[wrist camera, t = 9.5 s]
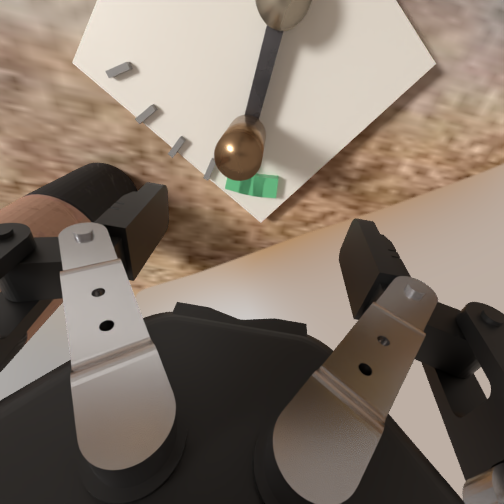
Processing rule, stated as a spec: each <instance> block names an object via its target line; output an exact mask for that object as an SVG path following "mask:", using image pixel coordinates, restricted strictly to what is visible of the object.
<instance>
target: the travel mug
mask: <svg viewBox="0 0 504 504" xmlns="http://www.w3.org/2000/svg"><path fill="white" fill-rule="evenodd" d="M133 191H134V192H137V189H136V187H135V185H134V183H133V182H132V181H131V180H130V178H129V177H128V176H127V175H126V174H124V173H123V172H122V171H120V170H119V169H117V168H115V167H113V166H111V165H108V164H104V163H91V164H88V165H85V166H83V167H81V168H79V169H76V170H74V171H72V172H71V173H69V174H67V175H65V176H63V177H61V178H59V179H57V180H55V181H53V182H51V183H49V184H47V185H45V186H43V187H41V188H39V189H37V190H35V191H33V192H31V193H29V194H27V195H25V196H23V197H21V198H20V199H18V200H16V201H14V202H13V203H11V204H9V205H7V206H6V207H4V208H2V209H0V224H2V223H21V224H24V225H27V226H28V227H29V228H30V230H31V232H32V235H33V237H58V236H59V234H60V232H61V231H62V230H63V229H65V228H67V227H69V226H71V225H74V224H78V223H86V222H91V223H93V222H94V221H96V220H97V219H98V218H99V217H100V216H101V215H102V214H103V213H104V212H105V211H107V210H108V209H109V208H111V206H112V205H113V204H114V203H116V201H118V200H119V199H120V198H121V197H122V196H124V195H126V194H128V193H131V192H133ZM0 292H1V289H0ZM62 303H63V299H53V301H52V302H51V303H50V304H49V305H48V307H47V308H46V309H45V310H44V311H43V313H42V314H41V315H40V316H39V317H38V319H37V320H36V321H35V322H34V324H33V325H32V326H31V327H30V328H29V330H28V331H27V332H26V333H25V334H24V336H23V337H22V338H21V339H20V340H19V342H18V343H17V344H16V345H15V347H14V348H13V349H12V350H11V351H10V353H9V354H8V355H7V356H6V357H5V359H4V360H3V361H2V362H1V363H0V372H1V371H2V370H3V368H5V367H6V365H7V364H8V363H9V362H10V361H11V360H12V359H13V358H14V356H15V355H16V354H17V353H18V352H19V351H20V349H22V347H23V346H24V345H25V344H26V343H27V342H28V340H30V338H31V337H32V336H33V335H34V334H35V333H36V332H37V331H38V329H39V328H40V327H41V326H42V325H43V324H44V323H45V322H46V320H47V319H48V318H49V317H50V316H51V315H52V314H53V313H54V311H55V310H56V309H57V308H58V307H59V306H60V305H61V304H62Z"/></svg>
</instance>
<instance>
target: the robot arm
mask: <svg viewBox="0 0 504 504" xmlns="http://www.w3.org/2000/svg"><path fill="white" fill-rule="evenodd" d="M168 223H169V210H168V191H167V187H166V185H161V184H155V183H150V182H147V183H146V184H145V185H143V186H142V187H141V188H140V189H139V190H138V191H137V192H134V191H133V192H131V193H128V194H126V195H124V196H122V197H121V198H120V199H119V200H118V201H116V203H114V204H113V205H112V206H111V208H109V209H108V210H107V211H105V212H104V213H103V214H102V215H101V216H100V217H99V218H98V219H97V220H96V221H94V222H93V223H91V222H86V223H78V224H74V225H71V226H69V227H67V228H65V229H63V230H62V231H61V232H60V234H59V236H58V237H33V235H32V232H31V230H30V228H29V227H28V226H27V225H24V224H21V223H2V224H0V289H1V292H0V363H1V362H2V361H3V360H4V359H5V357H6V356H7V355H8V354H9V353H10V351H11V350H12V349H13V348H14V347H15V345H16V344H17V343H18V342H19V340H20V339H21V338H22V337H23V336H24V334H25V333H26V332H27V331H28V330H29V328H30V327H31V326H32V325H33V324H34V322H35V321H36V320H37V319H38V317H39V316H40V315H41V314H42V313H43V311H44V310H45V309H46V308H47V307H48V305H49V304H50V303H51V302H52V301H53V299H63V304H64V312H65V319H66V327H67V335H68V343H69V350H70V358H71V360H69V361H68V362H66V363H64V364H62V365H61V366H59V367H57V368H56V369H54V370H52V371H50V372H49V373H47V374H45V375H44V376H42V377H40V378H38V379H37V380H35V381H33V382H32V383H30V384H28V385H26V386H25V387H23V388H21V389H20V390H18V391H16V392H14V393H13V394H11V395H9V396H8V397H6V398H4V399H2V400H1V401H0V504H504V314H503V313H501V312H500V311H498V310H496V309H495V308H493V307H490V306H488V305H486V304H483V303H478V302H470V303H468V304H467V305H466V306H465V307H464V308H463V309H462V310H461V311H460V310H458V309H455V308H452V307H449V306H447V305H444V304H442V303H439V302H438V298H437V295H436V293H435V292H434V291H433V290H432V289H431V288H430V287H429V286H428V285H426V284H425V283H423V282H422V281H420V280H418V279H415V278H412V277H411V276H410V275H409V273H408V271H407V269H406V267H405V265H404V264H403V262H402V260H401V259H400V256H399V255H398V253H397V252H396V249H395V247H394V245H393V244H392V242H391V241H390V240H388V239H387V238H386V237H385V236H384V235H381V234H380V233H379V231H378V229H377V227H376V225H375V223H374V222H373V221H367V220H362V219H354V220H353V221H352V223H351V225H350V227H349V230H348V232H347V235H346V237H345V239H344V242H343V244H342V247H341V249H340V254H339V263H340V267H341V271H342V274H343V279H344V282H345V286H346V290H347V294H348V298H349V302H350V306H351V310H352V314H353V318H354V319H357V320H358V322H357V323H356V324H355V325H354V326H353V328H352V329H351V330H350V331H349V333H348V334H347V335H346V336H345V338H344V339H343V340H342V341H341V342H340V344H339V345H338V346H337V348H336V349H335V350H334V351H333V350H332V349H330V348H329V347H328V346H327V345H325V344H324V343H322V342H321V341H319V340H317V339H316V338H314V337H312V336H310V335H307V328H306V324H304V323H298V322H292V321H286V320H280V319H253V320H240V319H237V318H234V317H232V316H229V315H227V314H224V313H222V312H219V311H216V310H214V309H212V308H209V307H203V306H198V305H191V304H186V303H180V302H177V304H176V306H175V308H174V311H173V312H165V313H159V314H155V315H151V316H148V317H145V318H143V317H142V315H141V312H140V309H139V307H138V304H137V301H136V299H135V296H134V293H133V291H132V288H131V285H130V283H129V280H132V281H134V280H135V278H136V277H137V275H138V274H139V272H140V271H141V269H142V268H143V266H144V265H145V263H146V261H147V260H148V258H149V257H150V255H151V254H152V252H153V251H154V249H155V248H156V246H157V245H158V243H159V241H160V240H161V238H162V237H163V235H164V234H165V232H166V230H167V227H168ZM414 359H416V360H418V361H421V362H422V365H423V367H424V370H425V373H426V375H427V378H428V381H429V384H430V386H431V389H432V392H433V394H434V397H435V400H436V402H437V405H438V408H439V411H440V413H441V416H442V419H443V421H444V424H445V426H446V429H447V432H448V435H449V437H450V440H451V443H452V445H453V448H454V451H455V453H456V456H457V459H458V462H459V464H460V467H461V470H462V472H463V475H464V478H465V480H466V482H465V484H464V487H463V500H462V499H461V498H460V497H459V495H458V494H457V493H456V492H455V491H454V490H453V488H452V487H451V486H450V485H449V484H448V483H447V481H446V480H445V479H444V478H443V477H442V476H441V474H439V472H438V471H437V470H436V469H435V467H434V466H433V465H432V464H431V463H430V462H429V460H428V459H427V458H426V457H425V456H424V455H423V453H422V452H421V451H420V450H419V449H418V448H417V447H416V445H415V444H414V443H413V442H412V441H411V440H410V438H409V437H408V436H407V435H406V434H405V433H404V431H403V430H402V429H401V428H400V427H399V426H398V424H397V423H396V422H395V421H394V420H393V419H392V417H391V416H390V415H389V414H388V413H389V411H390V409H391V407H392V405H393V402H394V400H395V398H396V396H397V394H398V392H399V390H400V388H401V386H402V384H403V382H404V380H405V378H406V375H407V373H408V371H409V369H410V367H411V365H412V363H413V361H414ZM480 367H482V369H483V371H484V372H485V374H486V376H487V378H488V380H489V382H490V385H491V394H490V397H489V398H488V399H487V398H486V396H485V394H484V392H483V390H482V389H481V387H480V385H479V383H478V381H477V379H476V377H475V375H474V372H475V371H476V370H478V369H479V368H480Z"/></svg>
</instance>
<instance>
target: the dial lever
mask: <svg viewBox="0 0 504 504" xmlns="http://www.w3.org/2000/svg"><path fill="white" fill-rule="evenodd" d="M255 1H256V6H257V9H258V12H259V14H260V16H261V18H262V20H263V21H264V23H265V24H266V25H267V26H266V30H265V35H264V39H263V43H262V47H261V51H260V55H259V59H258V63H257V67H256V71H255V75H254V79H253V83H252V87H251V91H250V95H249V99H248V103H247V107H246V111H245V115H241V116H239V117H237V118H235V119H234V120H233V121H232V123H231V124H230V125H229V127H228V128H227V130H226V131H225V133H224V134H223V135H222V137H221V138H220V140H219V141H218V143H217V144H216V147H215V150H214V160H215V163H216V166H217V168H218V169H219V171H220V172H221V173H222V174H223V175H224V176H225V177H227V178H229V179H231V180H235V181H244V180H247V179H250V178H251V177H253V176H254V175H255V174H256V173H257V172H258V171H259V169H260V167H261V163H262V158H263V152H264V146H265V140H266V131H265V128H264V126H263V124H262V122H261V121H260V120H259V118H260V114H261V110H262V107H263V103H264V100H265V96H266V92H267V89H268V85H269V82H270V78H271V75H272V71H273V67H274V64H275V60H276V57H277V53H278V49H279V46H280V42H281V39H282V35H283V32H286V31H289V30H292V29H293V28H295V27H296V26H297V25H298V24H299V23H300V22H301V21H302V20H303V18H304V17H305V15H306V14H307V12H308V10H309V8H310V5H311V2H312V0H255Z"/></svg>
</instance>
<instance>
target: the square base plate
mask: <svg viewBox="0 0 504 504" xmlns="http://www.w3.org/2000/svg"><path fill="white" fill-rule="evenodd" d="M266 26H267V25H266V24H265V23H264V21H263V20H262V18H261V16H260V14H259V12H258V9H257V6H256V1H255V0H97V2H96V5H95V7H94V10H93V12H92V15H91V17H90V20H89V22H88V25H87V27H86V30H85V32H84V35H83V37H82V40H81V42H80V45H79V47H78V50H77V52H76V55H75V57H74V60H73V62H72V63H73V64H74V65H75V66H77V67H78V68H79V69H80V70H81V71H83V72H84V73H85V74H86V75H87V76H88V77H90V78H91V79H92V80H93V81H94V82H95V83H97V84H98V85H99V86H100V87H101V88H103V89H104V90H105V91H106V92H107V93H108V94H110V95H111V96H112V97H113V98H114V99H116V100H117V101H118V102H119V103H120V104H121V105H123V106H124V107H125V108H126V109H127V110H129V111H130V112H131V113H132V114H133V115H134V116H136V117H137V118H135V120H136V121H137V122H138V123H139V124H141V123H142V122H143V123H144V124H145V125H146V126H147V127H149V128H150V129H151V130H152V131H153V132H154V133H156V134H157V135H158V136H159V137H160V138H162V139H163V140H164V141H165V142H166V143H167V144H169V145H170V146H171V147H172V149H171V150H170V152H169V153H168V154H169V155H170V156H171V157H172V158H173V157H174V156H175V154H176V153H177V152H178V153H179V154H180V155H182V156H183V157H184V158H185V159H186V160H188V161H189V162H190V163H191V164H192V165H193V166H195V167H196V168H197V169H198V170H199V171H201V172H202V173H203V174H204V179H206V180H209V179H210V180H211V181H212V182H213V183H215V184H216V185H217V186H218V187H219V188H221V189H222V190H223V191H224V192H225V193H226V194H228V195H229V196H230V197H231V198H232V199H234V200H235V201H236V202H237V203H238V204H239V205H241V206H242V207H243V208H244V209H245V210H247V211H248V212H249V213H250V214H251V215H252V216H254V217H255V218H256V219H257V220H258V221H260V222H262V221H263V220H264V219H265V218H267V217H268V216H269V215H270V214H271V213H272V212H273V211H274V210H275V209H276V208H278V207H279V206H280V205H281V204H282V203H283V202H284V201H285V200H286V199H288V198H289V197H290V196H291V195H292V194H293V193H294V192H295V191H296V190H297V189H299V188H300V187H301V186H302V185H303V184H304V183H305V182H306V181H307V180H308V179H310V178H311V177H312V176H313V175H314V174H315V173H316V172H317V171H318V170H319V169H321V168H322V167H323V166H324V165H325V164H326V163H327V162H328V161H329V160H331V159H332V158H333V157H334V156H335V155H336V154H337V153H338V152H339V151H340V150H342V149H343V148H344V147H345V146H346V145H347V144H348V143H349V142H350V141H351V140H353V139H354V138H355V137H356V136H357V135H358V134H359V133H360V132H361V131H362V130H364V129H365V128H366V127H367V126H368V125H369V124H370V123H371V122H372V121H374V120H375V119H376V118H377V117H378V116H379V115H380V114H381V113H382V112H383V111H385V110H386V109H387V108H388V107H389V106H390V105H391V104H392V103H393V102H394V101H396V100H397V99H398V98H399V97H400V96H401V95H402V94H403V93H404V92H405V91H407V90H408V89H409V88H410V87H411V86H412V85H413V84H414V83H415V82H417V81H418V80H419V79H420V78H421V77H422V76H423V75H424V74H425V73H426V72H428V71H429V70H430V69H431V68H432V67H433V66H434V65H435V64H436V63H435V61H434V60H433V58H432V57H431V55H430V53H429V52H428V50H427V49H426V47H425V45H424V44H423V42H422V41H421V39H420V37H419V36H418V34H417V33H416V31H415V30H414V28H413V26H412V25H411V23H410V22H409V20H408V18H407V17H406V15H405V14H404V12H403V10H402V9H401V7H400V6H399V4H398V3H397V1H396V0H312V2H311V5H310V8H309V10H308V12H307V14H306V15H305V17H304V18H303V20H302V21H301V22H300V23H299V24H298V25H297V26H296V27H295V28H293V29H292V30H289V31H286V32H283V35H282V39H281V42H280V46H279V49H278V53H277V57H276V60H275V64H274V67H273V71H272V75H271V78H270V82H269V85H268V89H267V92H266V96H265V100H264V103H263V107H262V110H261V114H260V118H259V120H260V121H261V122H262V124H263V126H264V128H265V131H266V140H265V146H264V152H263V158H262V163H261V167H260V169H259V171H258V172H257V173H256V174H255V175H254V176H253V177H251V178H250V179H247V180H244V181H235V180H231V179H229V178H227V177H225V176H224V175H223V174H222V173H221V172H220V171H219V169H218V168H217V166H216V163H215V160H214V150H215V147H216V144H217V143H218V141H219V140H220V138H221V137H222V135H223V134H224V133H225V131H226V130H227V128H228V127H229V125H230V124H231V123H232V121H233V120H234V119H235V118H237V117H239V116H241V115H245V111H246V107H247V103H248V99H249V95H250V91H251V87H252V83H253V79H254V75H255V71H256V67H257V63H258V59H259V55H260V51H261V47H262V43H263V39H264V35H265V30H266Z"/></svg>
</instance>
